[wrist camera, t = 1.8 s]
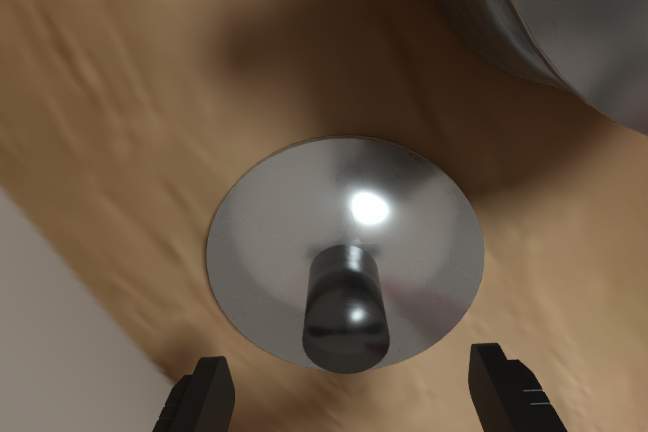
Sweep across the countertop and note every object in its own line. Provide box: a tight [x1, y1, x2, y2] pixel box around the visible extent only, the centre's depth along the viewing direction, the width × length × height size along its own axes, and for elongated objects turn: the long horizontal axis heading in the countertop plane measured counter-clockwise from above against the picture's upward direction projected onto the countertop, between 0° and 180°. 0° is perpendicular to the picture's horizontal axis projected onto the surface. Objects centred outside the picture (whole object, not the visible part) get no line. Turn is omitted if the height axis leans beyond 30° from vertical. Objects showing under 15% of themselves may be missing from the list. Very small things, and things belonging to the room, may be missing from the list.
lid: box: [206, 135, 484, 374], centre depth 15 cm, size 12×12×5 cm
